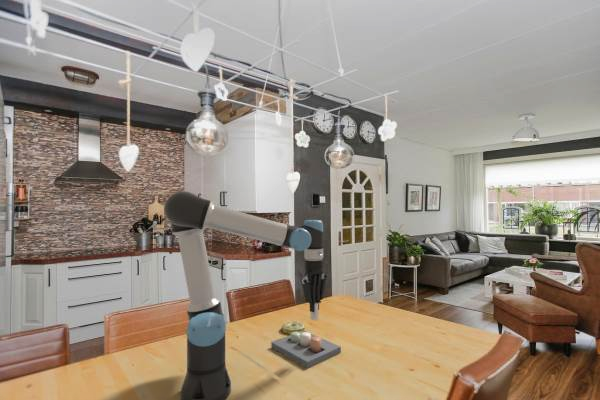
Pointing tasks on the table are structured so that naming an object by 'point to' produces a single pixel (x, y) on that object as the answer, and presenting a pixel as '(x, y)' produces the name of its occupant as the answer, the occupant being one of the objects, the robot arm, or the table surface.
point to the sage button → (295, 337)
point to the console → (305, 351)
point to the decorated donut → (292, 327)
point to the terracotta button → (315, 344)
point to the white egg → (305, 339)
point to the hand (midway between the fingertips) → (314, 319)
